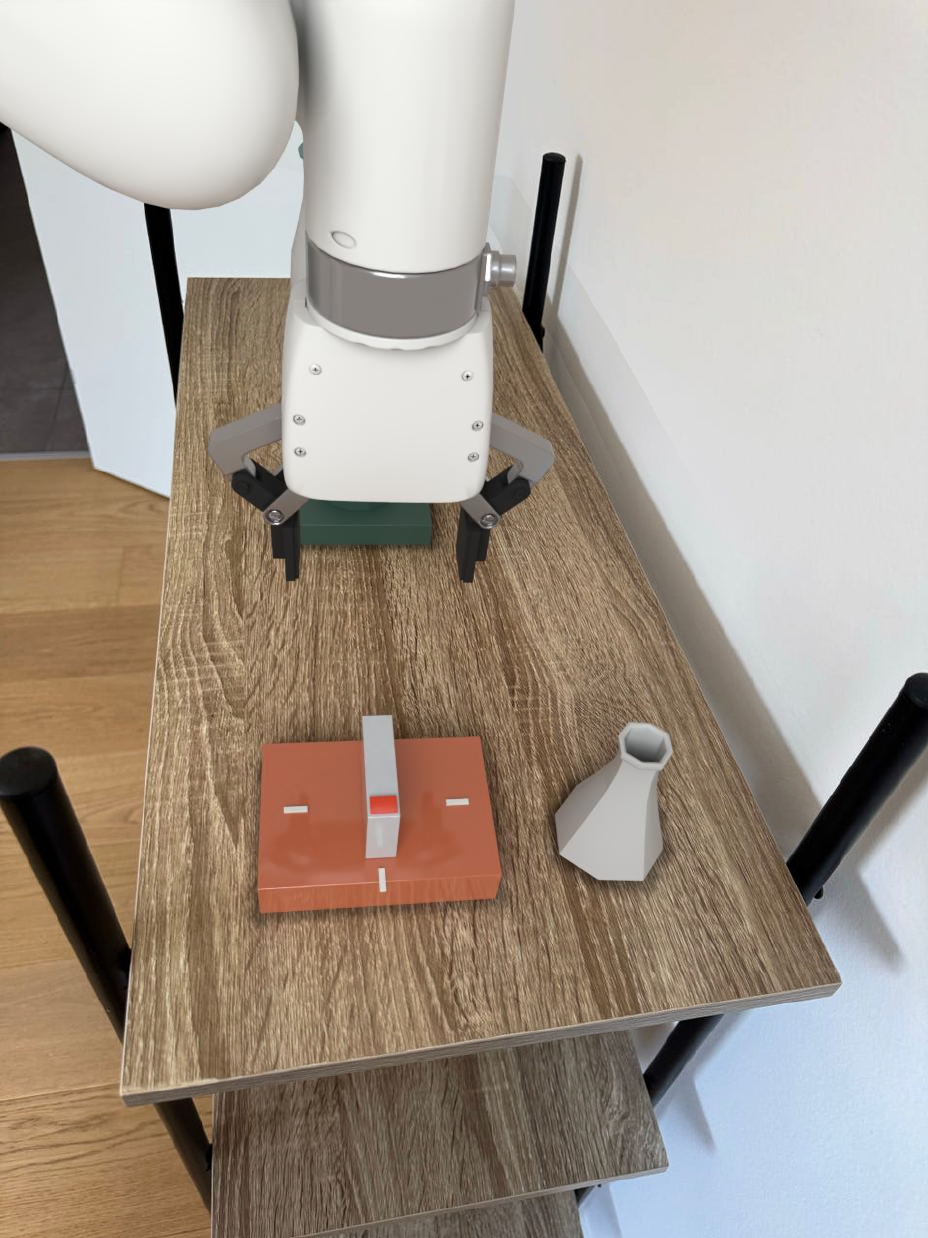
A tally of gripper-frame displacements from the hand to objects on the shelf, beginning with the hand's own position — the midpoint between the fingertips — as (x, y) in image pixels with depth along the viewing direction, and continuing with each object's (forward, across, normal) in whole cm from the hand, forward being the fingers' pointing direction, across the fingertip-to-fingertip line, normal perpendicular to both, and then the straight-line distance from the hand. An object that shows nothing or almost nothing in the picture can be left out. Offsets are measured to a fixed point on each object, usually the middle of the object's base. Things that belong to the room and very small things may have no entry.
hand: (379, 565), depth 52 cm
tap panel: (+16, 0, +8) cm, 18 cm away
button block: (+16, +1, -24) cm, 29 cm away
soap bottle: (+16, +2, -54) cm, 56 cm away
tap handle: (+13, 0, +8) cm, 15 cm away
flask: (+16, -15, +8) cm, 24 cm away
